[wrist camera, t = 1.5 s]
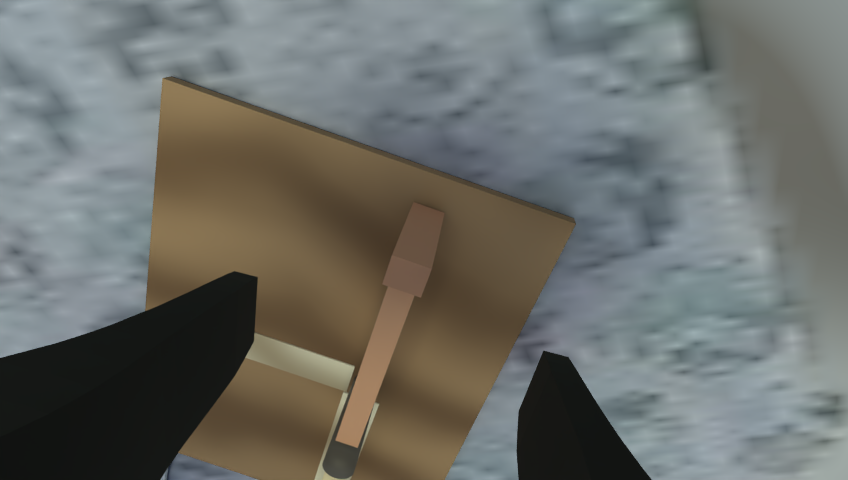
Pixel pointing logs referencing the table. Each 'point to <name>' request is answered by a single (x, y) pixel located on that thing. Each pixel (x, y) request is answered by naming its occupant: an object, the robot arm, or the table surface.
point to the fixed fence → (342, 451)
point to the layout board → (337, 285)
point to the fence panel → (392, 313)
